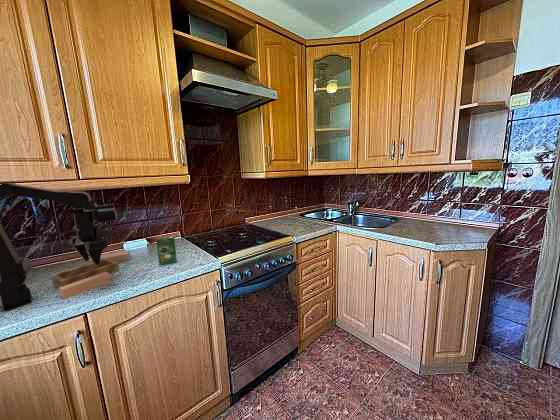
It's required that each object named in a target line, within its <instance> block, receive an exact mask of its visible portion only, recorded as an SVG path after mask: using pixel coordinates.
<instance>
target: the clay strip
mask: <svg viewBox="0 0 560 420" xmlns="http://www.w3.org/2000/svg"><path fill="white" fill-rule="evenodd" d="M111 282H112V280H111V274H109V273H107V272H103V273H100V274H97V275H95V276H92V277H89V278H86V279H83V280H80V281H77V282H74V283H71V284H68V285H65V286H62V287H60V288H58V290H59V295H60V298H61V299H63V300H66V299H69V298H73V297H75V296H77V295H80V294H82V293H85V292H89V291H90V290H92V289H95V288H99V287H102V286H103V285H106V284H108V283H111Z"/></svg>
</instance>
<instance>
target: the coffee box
mask: <svg viewBox="0 0 560 420" xmlns="http://www.w3.org/2000/svg"><path fill="white" fill-rule="evenodd" d="M155 240H156V249H157V256H158V265H159V266H160V265H161V266H162V265H167V264H175V263H177V261H178V260H177V259H178V258H177V249H176V240H175V236H174V235H173V236H166V237H164V236H163V237H156V239H155Z"/></svg>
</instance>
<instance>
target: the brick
mask: <svg viewBox="0 0 560 420" xmlns="http://www.w3.org/2000/svg"><path fill="white" fill-rule="evenodd" d="M131 257H132V256H131V252H130V250H129V249H126V250H125V249H124V250H119V251H114V252H113V253H112V252H110V253H109V252H108V253H104V254H103V253H101V257H100V260H104V259H109V260H112V261H115V262H118V264H120V263H124V262H129V261H131ZM90 263H94V262H93V260H92V259H91V257H89V260H88V264H90Z"/></svg>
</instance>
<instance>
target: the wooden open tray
mask: <svg viewBox="0 0 560 420" xmlns="http://www.w3.org/2000/svg"><path fill="white" fill-rule="evenodd" d="M119 271H120V265H119V263H118V262H115V261H112V260H109V259H104V260H100V262H99V264H98V265H95V263H90V264H89V263H87V264H84V265H81V266H77V267H74V268H71V269H67V270H65V271H62V272H57V273H53V274H51V275H50V278H51V281H52V285H54V286H55V287H57V288H58V289H59V288H60V287H62V286H65V285H68V284H71V283H74V282H77V281H80V280H83V279H86V278H89V277H92V276H95V275H97V274H100V273H103V272H107V273H109V274H110V275H112V274H114V273H116V272H119Z"/></svg>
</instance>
